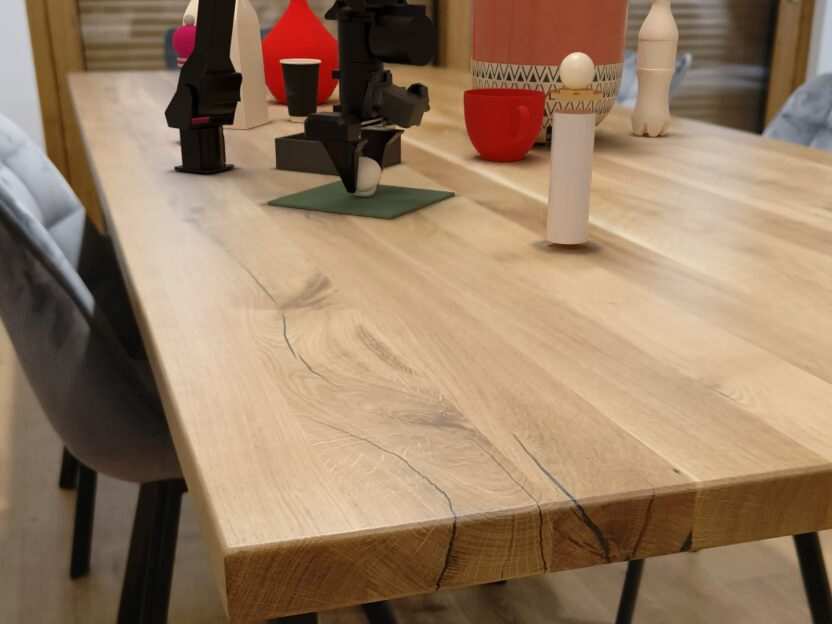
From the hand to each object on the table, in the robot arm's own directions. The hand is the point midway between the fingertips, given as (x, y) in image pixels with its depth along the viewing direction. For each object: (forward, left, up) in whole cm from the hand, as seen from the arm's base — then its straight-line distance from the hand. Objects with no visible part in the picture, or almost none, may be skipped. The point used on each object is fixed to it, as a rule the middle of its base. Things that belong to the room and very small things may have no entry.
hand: (363, 189), depth 146 cm
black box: (+22, +17, -1) cm, 28 cm away
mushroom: (0, 0, -1) cm, 1 cm away
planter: (+63, 0, -2) cm, 63 cm away
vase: (+90, +68, -2) cm, 113 cm away
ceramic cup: (+40, -3, -2) cm, 40 cm away
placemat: (0, 0, -1) cm, 1 cm away
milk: (+52, +60, -2) cm, 79 cm away
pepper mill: (+30, +50, -2) cm, 58 cm away
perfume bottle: (-12, -33, -2) cm, 35 cm away
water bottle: (+81, -14, -2) cm, 82 cm away
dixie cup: (+64, +51, -2) cm, 82 cm away
